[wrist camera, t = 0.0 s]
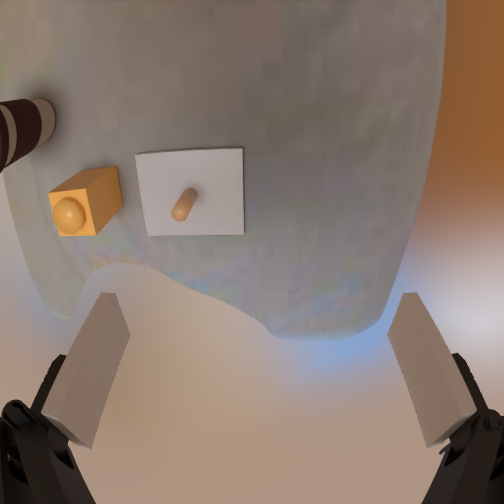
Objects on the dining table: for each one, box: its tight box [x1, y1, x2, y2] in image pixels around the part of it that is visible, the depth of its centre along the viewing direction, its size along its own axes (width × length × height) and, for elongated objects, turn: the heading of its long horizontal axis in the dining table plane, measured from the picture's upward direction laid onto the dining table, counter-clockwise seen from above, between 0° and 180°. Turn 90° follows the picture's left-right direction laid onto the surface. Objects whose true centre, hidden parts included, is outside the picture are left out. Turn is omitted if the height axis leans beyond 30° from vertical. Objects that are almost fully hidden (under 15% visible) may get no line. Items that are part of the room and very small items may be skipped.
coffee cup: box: [0, 99, 55, 173], centre depth 26 cm, size 10×10×15 cm
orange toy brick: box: [48, 166, 123, 236], centre depth 34 cm, size 6×6×10 cm
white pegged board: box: [135, 147, 244, 236], centre depth 36 cm, size 12×14×7 cm
